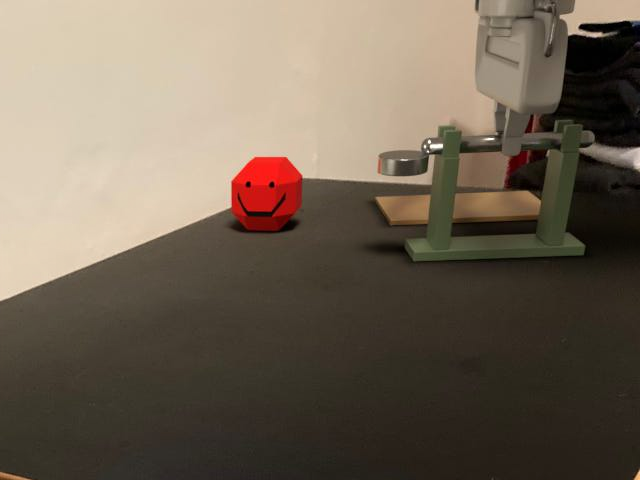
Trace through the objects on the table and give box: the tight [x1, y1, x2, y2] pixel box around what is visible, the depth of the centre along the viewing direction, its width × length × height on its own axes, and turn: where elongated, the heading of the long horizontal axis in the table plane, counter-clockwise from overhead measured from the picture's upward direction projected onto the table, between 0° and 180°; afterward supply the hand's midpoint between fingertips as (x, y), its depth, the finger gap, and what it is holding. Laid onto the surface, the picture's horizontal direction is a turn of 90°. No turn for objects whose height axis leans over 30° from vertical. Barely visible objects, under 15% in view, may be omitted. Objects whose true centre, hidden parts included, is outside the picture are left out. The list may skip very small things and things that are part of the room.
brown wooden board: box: [374, 190, 541, 226], centre depth 125 cm, size 20×14×1 cm
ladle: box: [376, 130, 595, 177], centre depth 102 cm, size 22×5×3 cm, turn 87°
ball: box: [230, 156, 304, 232], centre depth 120 cm, size 8×8×8 cm
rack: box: [404, 119, 586, 263], centre depth 104 cm, size 18×6×12 cm, turn 87°
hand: (505, 152), depth 102 cm, fingers closed on ladle
